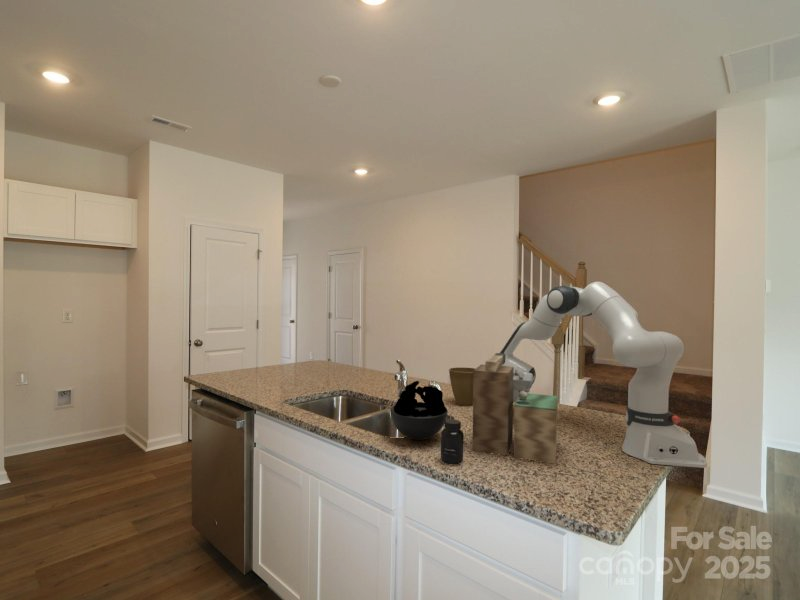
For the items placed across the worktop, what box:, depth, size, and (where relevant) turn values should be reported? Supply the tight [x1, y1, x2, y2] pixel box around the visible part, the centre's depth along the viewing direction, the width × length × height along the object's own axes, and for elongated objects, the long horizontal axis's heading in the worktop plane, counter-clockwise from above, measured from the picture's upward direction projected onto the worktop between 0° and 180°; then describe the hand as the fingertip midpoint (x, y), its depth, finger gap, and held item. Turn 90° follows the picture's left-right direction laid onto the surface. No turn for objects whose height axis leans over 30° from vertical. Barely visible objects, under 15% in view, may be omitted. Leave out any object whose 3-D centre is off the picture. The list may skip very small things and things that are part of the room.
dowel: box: [484, 352, 505, 372], centre depth 141 cm, size 3×22×3 cm, turn 158°
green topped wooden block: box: [513, 391, 558, 465], centre depth 134 cm, size 12×18×19 cm, turn 158°
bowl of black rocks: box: [389, 380, 448, 441], centre depth 145 cm, size 20×20×19 cm
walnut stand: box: [471, 364, 514, 456], centre depth 137 cm, size 11×13×26 cm
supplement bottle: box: [440, 418, 465, 465], centre depth 125 cm, size 7×7×12 cm
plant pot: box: [448, 366, 476, 407], centre depth 193 cm, size 15×15×16 cm
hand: (504, 370), depth 159 cm, fingers open, 8 cm apart
